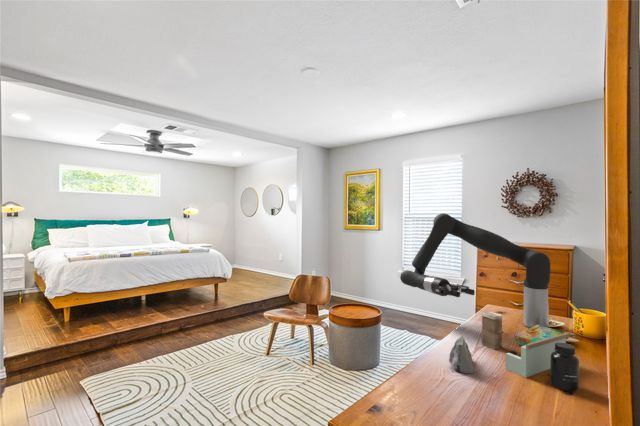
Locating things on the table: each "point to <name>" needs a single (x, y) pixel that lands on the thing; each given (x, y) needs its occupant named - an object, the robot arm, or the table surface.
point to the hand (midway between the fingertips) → (466, 293)
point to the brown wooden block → (492, 330)
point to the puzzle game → (536, 334)
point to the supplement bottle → (564, 368)
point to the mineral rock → (461, 357)
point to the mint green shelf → (534, 356)
